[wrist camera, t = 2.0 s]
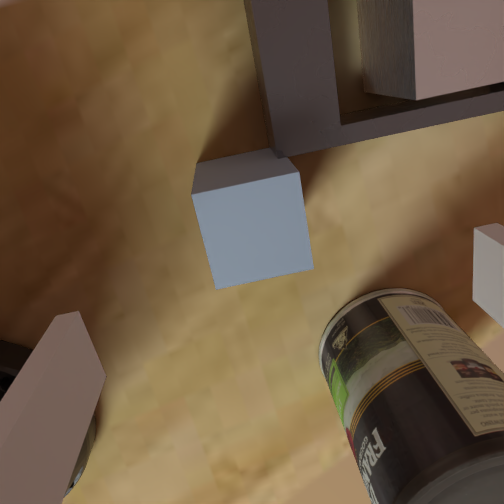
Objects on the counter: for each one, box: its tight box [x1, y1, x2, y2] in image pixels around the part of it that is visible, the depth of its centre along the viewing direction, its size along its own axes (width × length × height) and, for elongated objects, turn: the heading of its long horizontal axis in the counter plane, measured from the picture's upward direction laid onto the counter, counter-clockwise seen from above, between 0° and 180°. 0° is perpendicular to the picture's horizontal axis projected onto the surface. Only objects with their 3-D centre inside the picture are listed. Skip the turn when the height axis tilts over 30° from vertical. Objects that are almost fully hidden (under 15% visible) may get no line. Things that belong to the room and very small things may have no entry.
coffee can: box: [319, 288, 504, 504], centre depth 26 cm, size 10×10×14 cm
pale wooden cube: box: [357, 0, 504, 100], centre depth 21 cm, size 5×5×7 cm
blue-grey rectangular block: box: [191, 148, 314, 290], centre depth 24 cm, size 5×5×7 cm
